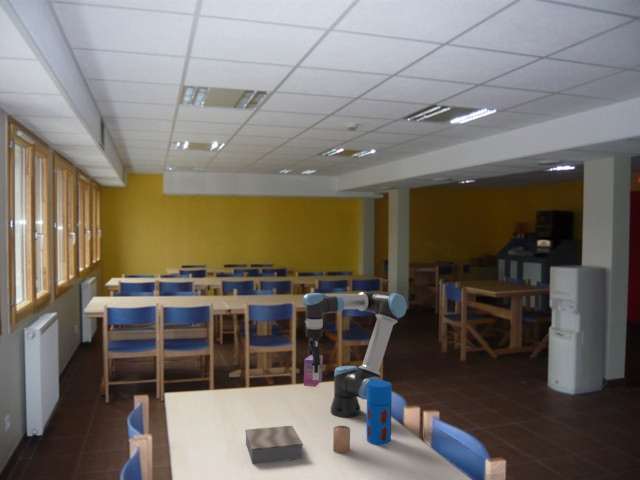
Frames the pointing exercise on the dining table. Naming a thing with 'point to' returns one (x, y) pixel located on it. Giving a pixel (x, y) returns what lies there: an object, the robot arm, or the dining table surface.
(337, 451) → the tan rounded cylinder
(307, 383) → the box
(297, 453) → the podium
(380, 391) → the thermos
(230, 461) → the dining table surface
